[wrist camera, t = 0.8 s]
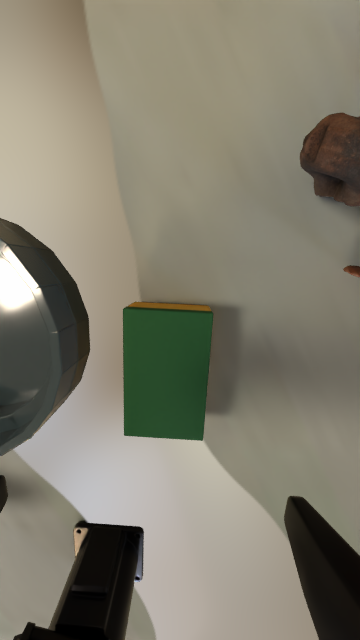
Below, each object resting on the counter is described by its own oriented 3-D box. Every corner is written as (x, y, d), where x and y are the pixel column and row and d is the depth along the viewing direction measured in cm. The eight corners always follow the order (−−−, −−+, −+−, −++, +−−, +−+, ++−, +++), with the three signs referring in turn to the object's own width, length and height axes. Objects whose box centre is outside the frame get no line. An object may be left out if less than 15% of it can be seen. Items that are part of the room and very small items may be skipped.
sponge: (200, 413, 18) (203, 441, 15) (133, 409, 18) (123, 436, 15) (208, 305, 16) (213, 313, 13) (134, 301, 16) (122, 308, 13)
